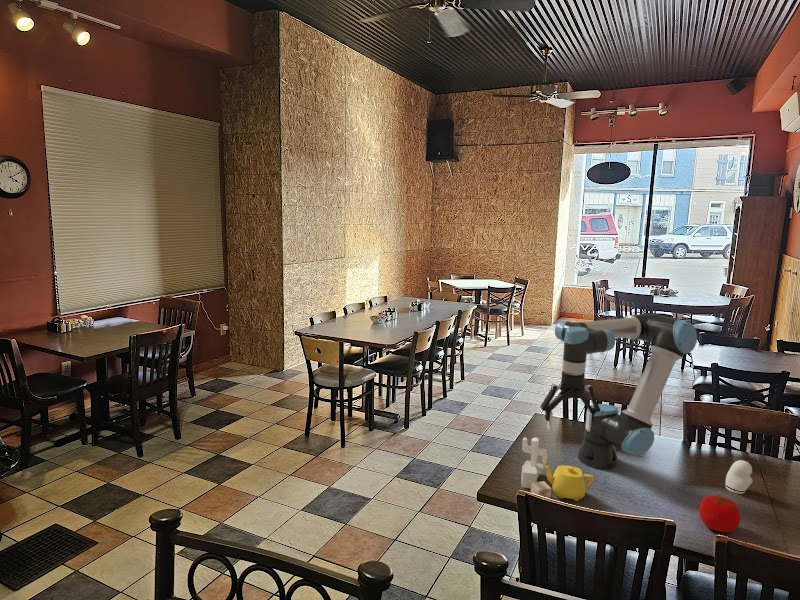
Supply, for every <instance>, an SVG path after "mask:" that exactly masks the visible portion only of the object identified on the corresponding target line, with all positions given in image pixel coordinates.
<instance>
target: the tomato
mask: <svg viewBox="0 0 800 600" xmlns="http://www.w3.org/2000/svg"><path fill="white" fill-rule="evenodd" d="M699 518H700V520H701V522H702V523H703V524H704V525H705V526H706V527H707V528H708V529H711V530H713V531H716V532H719V531H720V532H719V533H724V534H725V533H731V532H733V531H735V530H736V529H737V528H738V527H739V526H740V522H741V513H740V509H739V507H738V505H737V504H736V503H735V501H733V500H732V499H730V498H729V497H725V496H722V495H717V494H711V495H707V496H705V497H703V499H702V500H701V502H700V506H699Z"/></svg>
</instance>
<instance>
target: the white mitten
mask: <svg viewBox="0 0 800 600" xmlns="http://www.w3.org/2000/svg"><path fill="white" fill-rule="evenodd" d="M752 473H753V467H752V465H751V464H750V463H749V462H748V461H746V460H742V459H740V460H736V461H735V462H734V463H732V465H731V466H730V468H729V469H728V472H726V476H725V489H727V491H729V492H731V493H734V494H739V495H743V494H745V493H746V491H747V490H748V488H749V487H750V486H751V485H752V483H753V478H752V477H751V475H752ZM726 485H727V486H728V487H730V488H732V489H735V490H738V491H745V490H746V491H745V492H738V491H734V490H732V489H730V488H728V487H727V486H726Z"/></svg>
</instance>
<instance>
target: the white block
mask: <svg viewBox="0 0 800 600" xmlns="http://www.w3.org/2000/svg"><path fill="white" fill-rule="evenodd" d="M520 479H521V482H520V483H521V488H525V489H531V483H534V482H538V479H537V470H536V467H529V466H523V465H522V466H521V478H520Z"/></svg>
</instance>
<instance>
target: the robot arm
mask: <svg viewBox="0 0 800 600" xmlns="http://www.w3.org/2000/svg"><path fill="white" fill-rule="evenodd" d="M554 335H555V337H556V338H557V339H558V340H560V341H562V342H563V356H562V357H563V358H562V369H561V370H562V372H561V380H560V384H555V383H552V384H551V386H550V390H549V391H548V393H547V395H546V396H545V398H544V400H543V401H542V402H541V405H540V407H539V408H540V409H541V410H542V411H543V412H545V413H544V414H545V415H544V419H545V420H546V424H547V425H546V427H547V430H548V431H549V432H551V431H552V425H553V416H554V415H553V414H554V413H553V412H552V411H553V410H554V409H555V408H556V407H557V406H558V405H559V404H560V403H561V402H562V401H563V400H565V399H566V398H567V399H578V398H579V399H580V400H581V401H582V403H583V404H584V405H585V407H586V408H587V409H586V414H585V422H584V433H583V434H584V436H583V440H582V442H581V444H580V447H579V448H578V450H577V451H578V452H577V458H578V460H579V461H580V462H581V463H583V464H585V465H586V466H589V467H592V468H596V469H604V470H605V469H613V468H615V467H617V465H618V454H617V450H616V448H618V450H619V449H620V450H621V451H623V452H624V453H628V454H629V455H632V456H638V457H639V456H642V455H643V454H645V453H647V452H648V451H649V450H650V448H651V447H653V444H654V441H655V433H654V430H653V429H652V428H653V422H652V419H651V418H652V416H653V414H654V412H655V410H656V408H657V405H658V403H659V400H660V397H661V396H662V393H663V391H664V389H665V388H666V387H665V386H666V384H667V381H668V380H669V377H670V375H671V373H672V370H673V368H674V366H675V363H676V361H678V360H682V358H683V357H684V354H685V355H686V354H690V353H691V352H693V350H694V349H695V347H696V345H697V340H698V332H697V329H696V327H695V326H694V325H693V324H692V323H691V322H689V321H685V320H683V319H679V318H676V317H670V316H666V315H661V314H658V313H642V314H641V313H639V314H630V315H626V316H624V318H614V319H613V318H612V319H601V320H591V321H577V322H572V321H569V320H560V321H559V322H558V323H557V324H555V327H554ZM624 338H626V339H628V340H639V341H643V342H647V343H650V345H649V348H650V350H651V354H650V356H649V359H648V361H647V363H646V364H645V367H644V370H643V372H642V375H641V376H640V379H639V381H638V384H637V386H636V388H635V390H634V393H633V395H632V398H631V399H630V401H629V405H628V407H627V408H626V409H623V410H621V411H619V410H618V407H617V406H615V405H611V404H605V403H598V401H597V399H596V396H595V394H594V387H593V386H592V385H591V384H590V383H588V384H587V385H584V384H585V375H586V374H585V373H586V364H587V356H588V355H591V354H596V353H597V354H598V353H605V352H608V351H611V350H613V349H614V348H615V345H616V339H624ZM559 390H560V392H559V393H558V395H557V396H556V393H557V392H558V391H559ZM585 391H586V392H587V394H588V396H589V398H590V401H591V403H592V404H590V403H589V402H588V401H587V399H586V397H584V395H583V392H585ZM554 396H555V398H554ZM619 412H620V414H619Z"/></svg>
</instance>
